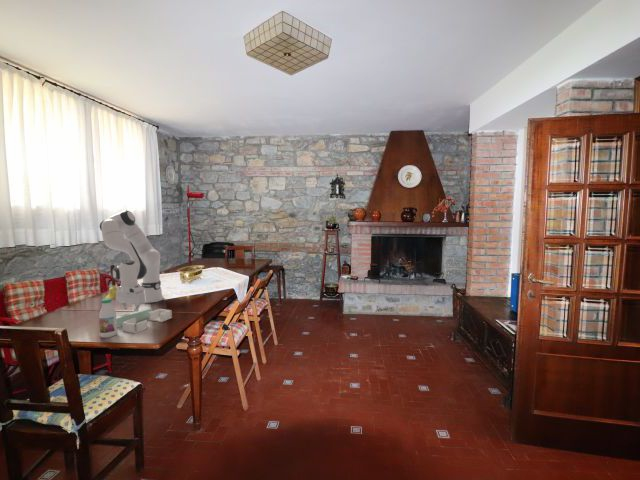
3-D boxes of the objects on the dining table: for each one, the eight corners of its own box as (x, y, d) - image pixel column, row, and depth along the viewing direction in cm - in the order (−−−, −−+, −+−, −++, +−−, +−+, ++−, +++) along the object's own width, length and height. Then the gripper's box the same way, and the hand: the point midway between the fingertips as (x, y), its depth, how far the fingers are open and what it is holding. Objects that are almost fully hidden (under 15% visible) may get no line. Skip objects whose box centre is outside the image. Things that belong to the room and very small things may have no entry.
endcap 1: (135, 333, 176) (134, 324, 175) (122, 330, 179) (121, 322, 179) (147, 327, 183) (147, 319, 183) (134, 325, 187) (134, 317, 186)
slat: (116, 328, 184) (116, 318, 183) (113, 326, 186) (112, 317, 185) (151, 317, 202) (151, 308, 201) (148, 316, 204) (148, 307, 203)
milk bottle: (105, 332, 177) (103, 297, 175) (120, 332, 177) (117, 297, 175) (97, 338, 169) (94, 301, 167) (112, 337, 170) (109, 301, 168)
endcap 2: (159, 315, 204) (159, 308, 203) (171, 317, 200) (171, 310, 200) (149, 320, 196) (148, 312, 196) (161, 322, 193) (161, 314, 192)
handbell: (117, 299, 241) (115, 266, 238) (101, 299, 241) (98, 266, 239) (127, 294, 253) (125, 263, 251) (112, 294, 253) (110, 263, 251)
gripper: (112, 287, 192) (113, 309, 193) (137, 290, 185) (138, 313, 186) (122, 285, 198) (123, 306, 199) (146, 288, 191) (147, 310, 192)
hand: (130, 310), depth 193 cm, fingers open, 8 cm apart
